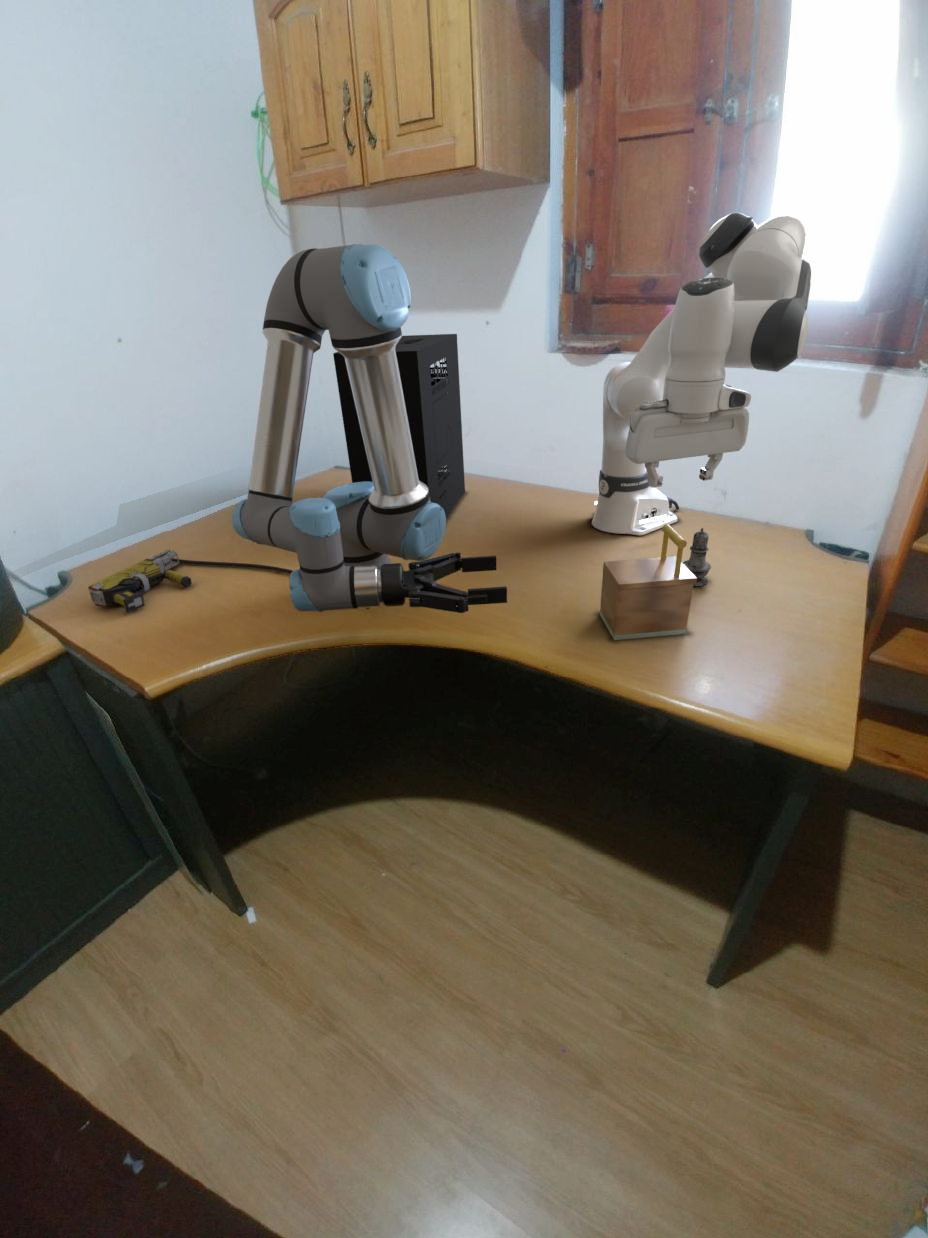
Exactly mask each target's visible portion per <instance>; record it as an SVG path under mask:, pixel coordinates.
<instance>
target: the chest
mask: <svg viewBox="0 0 928 1238" xmlns="http://www.w3.org/2000/svg"><path fill="white" fill-rule="evenodd" d="M693 590H694V586H693V584H682V585H670V586H658V587H646V588H634V589H622V590H619V589H618V588H617V586H616V585H615V584H614V582H613V581H612V579H611V578H610V576H609V575H608V573H607V572H606V570H605V569H604V567H603V566H602V578H601V592H600V604H599V605H600V606H599V616H600V618H601V619H602V622H603V623H604V625H605V627H606V628H607V630H608V632H609V633H610V635H611V637H612V639H613V640H614V641H616V640H617V641H620V640H632V639H642V638H653V637H665V636H676V635H686V634H687V627H688V620H689V615H690V608H691V602H692V596H693Z"/></svg>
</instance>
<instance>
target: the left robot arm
mask: <svg viewBox="0 0 928 1238" xmlns="http://www.w3.org/2000/svg"><path fill="white" fill-rule="evenodd" d="M411 305H412V294H411V286H410V282H409V279H408V277H407V274H406V271H405V269H404V267H403V266H402V264H401V262H400V261H399V259H398V258H397V257H396V256H394V255H393V254H392V252H391V250H388V249H387V248H385V247H383V246H381V245H378V244H363V243H353V244H345V245H340V246H339V245H338V246H331V247H323V248H307V249H303V250H301V251H299V252H297V253H295V254H294V255H292V256H291V257H289V259H288V260H287V261H286V262H285V263H284V265H283V266H282V267H281V269H280V271H279V273H278V274H277V276H276V278H275V279H274V282H273V284H272V287H271V290H270V293H269V296H268V299H267V302H266V305H265V306H266V307H265V311H264V312H265V313H264V317H263V322H262V323H263V324H262V335H263V337H264V338H265V339H266V342H267V343H266V350H265V351H266V352H265V359H264V366H263V374H262V381H261V391H260V397H259V406H258V413H257V421H256V428H255V436H254V444H253V451H252V459H251V466H250V473H249V474H250V475H249V481H248V482H249V483H248V493H247V498H244V499H242V500H240V501H238V502H237V504H236V506H235V507H234V509H232V513H231V524H232V527H233V529H234V531H235V533H236V534H237V535H238V536H240V538H243V539H245V540H248V541H251V542H252V543H255V544H257V545H264V546H269V547H272V548H277V549H280V550H284V551H286V552H287V551H288V552H291V553H295V554H296V555H297V560H298V567H299V568H298V569H293V570H292V569H289V568H284V567H280V566H279V567H278V566H272V565H265V564H256V563H245V562H244V563H243V562H226V561H205V560H191V559H182V558H178V559H179V564H189V565H199V566H201V565H202V566H217V567H219V566H220V567H239V568H250V569H251V568H254V569H261V570H262V569H263V570H270V571H275V572H281V573H286V574H290V575H289V583H288V586H289V597H290V602H291V604H292V606H293V607H294V609H295V610H297V611H299V612H318V613H323V612H326V611H339V610H349V609H351V610H352V609H366V610H370V609H371V608H380V607H381V606H382V604H383V606H385V607H387V608H389V607H401V606H404V605H405V604H406V598H407V599H408V602H409V603H408V604H409V605H408V606H409V607H410V608H427V609H433V610H438V611H439V610H440V611H445V612H451V613H452V612H453V613H458V614H464V613H467V612H469V610H470V609H469V608H470V607H469V606H479V605H480V606H481V605H493V604H495V605H496V604H507V603H508V587H507V586H492V587H477V588H475V587H474V588H467V591H464V590H461V589H457V588H453V587H450V586H447V585H443V584H439V583H438V582H437V581H438V580H441V579H443V578H445V577H448V576H450V575H452V574H454V573H458V572H459V571H461V573H475V572H490V571H491V572H492V571H497V569H498V568H497V567H498V565H497V555H483V556H482V555H481V556H470V557H469V556H467V557H462V554H461V552H452V553H451V552H450V553H447V554H443V555H440V556H436V557H432V556H433V555H434V554H435V553H436V552H437V551H438V549H439V548H440V545H441V544H442V541H443V539H444V536H445V532H446V527H447V519H446V516H445V512H444V510H443V508H442V507H440V505H438V504H437V503H433V502H432V503H431V501H430V496H429V490H428V487H427V485H426V484H424V483H423V482H421V481H419V479H418V473H417V468H416V462H415V457H414V451H413V446H412V440H411V434H410V429H409V423H408V418H407V412H406V406H405V401H404V395H403V390H402V384H401V378H400V373H399V367H398V362H397V356H396V350H395V348H396V345H397V343H398V342H399V340H400V339H401V337H402V336H403V333H402V327H403V326H404V325H405V323H406V322H407V320H408V318H409V315H410V311H409V309H410V308H411ZM326 331H328V335H329V339H330V343H331V347H332V349H333V350H335V351H336V352H339V353H340V354H342V355H343V356H344V358H345V362H346V366H347V371H348V375H349V380H350V384H351V388H352V393H353V397H354V402H355V406H356V410H357V415H358V419H359V424H360V428H361V432H362V437H363V441H364V446H365V450H366V454H367V459H368V463H369V468H370V472H371V476H372V481H373V482H368V481H367V482H356V483H352V482H351V483H345V484H343V485H339V486H336V487H334V488H331V489H329V490H328V491H326V492H325V493H324V494H323V497H307V498H303V499H299V500H296V501H294V502H293V497H294V490H295V483H296V474H297V468H298V461H299V456H300V455H299V454H300V450H301V449H300V447H301V442H302V435H303V429H304V421H305V420H304V419H305V413H306V407H307V401H308V393H309V387H310V381H311V380H310V379H311V373H312V367H313V359H314V354H315V353H317V351H320V349H321V347H322V339H323V335H324V334H325V332H326ZM389 556H392V557H396V558H401V559H403V560H404V561H409V560H410V561H411V562H409V563H408V570H404V566H403V564H402V563H401V562H395V563H394V562H393V563H392V561H391V558H390V557H389ZM431 557H432V558H431ZM171 561H173V563H174V562H178V560H177V558H176V557H174V558H172V559H171Z"/></svg>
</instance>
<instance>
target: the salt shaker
mask: <svg viewBox="0 0 928 1238" xmlns="http://www.w3.org/2000/svg"><path fill="white" fill-rule="evenodd" d="M708 543H709V534H708V533H707V532H706V531H705V529H704V527H701V528H700V530H699V531H697V532H695V533H694V534H693V539H692V545H691V546H690V547H689V549H690V556H689V558H688V559H685V560H684V561H682V563H683V564H684V565H685V566H686V567H687V568H688V569H689V570H690V571H691V572H692V573H693V574H694V575H695V576H696V577H697V583H694V584H693V587H702V586H705V585H707V584H708V579H707V578H706V576H707V575H708V574H709V572H710V571H711V569H712V565H711V563H709V561H706V558H707V552H709V548H708Z"/></svg>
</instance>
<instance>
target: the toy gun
mask: <svg viewBox="0 0 928 1238" xmlns="http://www.w3.org/2000/svg"><path fill="white" fill-rule="evenodd" d="M172 558H176V559H177V560H178V562H173V561H171V559H172ZM179 559H180V558H179V554H178V552H177V551H176V550H172V551H171V549H166V550H165V551H163V552H159V554H155V555H154V556H152V557H150V558H145V559H144V560H141V561H138V562H137V563H135V564H133V565H131V566H130V565H129V567H128V566H127V567H126V568H124V569H122V570H120V571H118V572H116V573H113V574H111V575H109V576H107V577H105V578H103V579H100V580H98V581H97V582H94V583H92V584H90V585H88V588H87V589H88V592H89V595H90V600H91V602H92V604H94V605H95V607H99V608H103V607H112V606H117V605H121V606H123V607H124V609H125V612H126V613H128V614H129V613H131V612H133V611H136V610H138V609H140V608H143V607H145V605H146V604H145V600H144V595H143V594H145V593H146V592H149V591H150V589H151V587H152V586H154V585H156V584H159V583H161V582H163V581H164V580H166V581H169V582H171V583H174V584H177V585H181V586H182V588H188V587H190V586H191V585H192V582H193V581H192V578H191V577H190V576H186V575H184V574H181V573H178V572H177V571H174V570H172V569H173V568H175V567H177V566H179V565H180V563H179Z"/></svg>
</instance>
